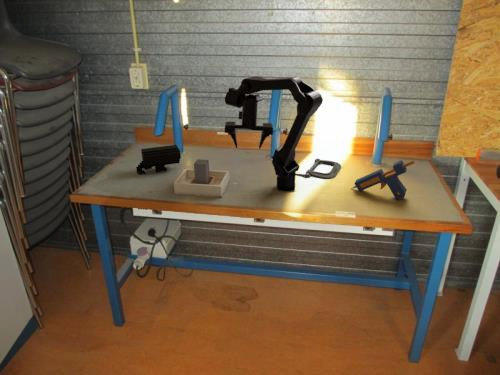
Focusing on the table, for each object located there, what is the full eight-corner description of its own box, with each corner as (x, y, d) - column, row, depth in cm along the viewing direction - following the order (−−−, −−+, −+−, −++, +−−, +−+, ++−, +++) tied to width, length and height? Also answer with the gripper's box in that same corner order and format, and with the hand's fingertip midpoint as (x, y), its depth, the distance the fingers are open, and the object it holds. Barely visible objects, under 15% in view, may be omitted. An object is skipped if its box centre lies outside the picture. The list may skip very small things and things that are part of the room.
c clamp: (329, 184, 157) (329, 178, 156) (289, 175, 165) (290, 169, 164) (345, 167, 173) (346, 161, 172) (309, 159, 181) (309, 154, 180)
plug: (210, 183, 155) (208, 159, 151) (207, 188, 151) (205, 164, 147) (198, 182, 156) (197, 159, 152) (195, 187, 152) (193, 163, 148)
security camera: (136, 170, 169) (133, 148, 165) (179, 164, 175) (177, 143, 170) (138, 177, 163) (134, 154, 159) (182, 170, 169) (180, 148, 165)
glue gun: (364, 209, 155) (348, 183, 153) (428, 183, 142) (411, 153, 141) (362, 215, 151) (346, 187, 149) (428, 188, 138) (411, 157, 136)
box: (229, 181, 159) (229, 171, 157) (221, 197, 146) (221, 186, 144) (186, 178, 161) (185, 168, 159) (174, 194, 149) (173, 183, 147)
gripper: (273, 105, 158) (270, 141, 166) (226, 103, 158) (226, 139, 166) (274, 114, 149) (271, 152, 156) (224, 112, 148) (224, 150, 156)
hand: (248, 148), depth 159 cm, fingers open, 9 cm apart
